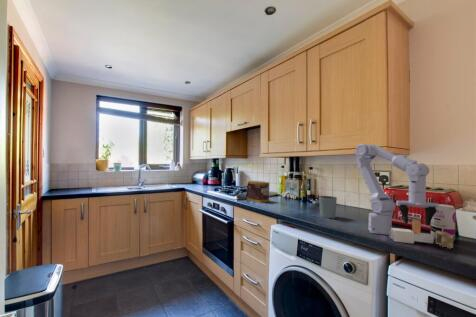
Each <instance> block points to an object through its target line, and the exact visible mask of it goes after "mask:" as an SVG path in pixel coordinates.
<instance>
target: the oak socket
mask: <svg viewBox="0 0 476 317" xmlns="http://www.w3.org/2000/svg"><path fill="white" fill-rule="evenodd" d="M435 244H437V245H438V244H439V246H440V247H441V246H442V247H441V248H443V247H447V248H446V249H451V248H453V249H454V240H453V236H452V235H450V234H448V233H447V232H442V231H436V239H435Z"/></svg>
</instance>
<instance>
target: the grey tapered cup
mask: <svg viewBox="0 0 476 317" xmlns="http://www.w3.org/2000/svg"><path fill="white" fill-rule="evenodd" d="M337 200H338V197H337V196H332V195H331V196H330V195H319V196H318V202H319V203H318V204H319V216H320V218H324V219H330V218H332V219H336V211H337Z"/></svg>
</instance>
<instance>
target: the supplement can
mask: <svg viewBox="0 0 476 317" xmlns="http://www.w3.org/2000/svg"><path fill="white" fill-rule="evenodd" d="M438 204H439V209H437V212H436V213H435V214H434V216H433V217H432V219H431V222H430V234H431V235H433V236H434V240H436V231H442V232H447V233H448V234H450V235H452V236H453V241H455V240H456V208H455V207H454V206H453V205H450V204H443V203H442V204H441V203H438ZM435 209H436V208H435Z"/></svg>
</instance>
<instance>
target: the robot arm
mask: <svg viewBox="0 0 476 317" xmlns="http://www.w3.org/2000/svg"><path fill="white" fill-rule="evenodd" d="M354 154H355V156H356V165H357V167H358V169H359V171H360V173H361V176H362V177H363V180H364V182H365V184H366V186H367V189H368V190H369V193H370V195H371V197H370V198H369V201H370V208H371V210H372V212H369V213H368V228H367V229H368V231H369V232H370V233H371V234H379V235H387V236H389V230H391V228H393V227H392V225H393V223H392V222H393V212H395V210H396V206H397V207H398V209H399V211H400V212H401V215H402V218H403V223H404V224H409V210H410V208H409V207H413V208H424V212H425V213H424V214H425V218H424V219H425V221H424V223H425V225H426V226H428V227H429V226H430V227H431V219H432V217H433V216H434V214H435V213H436V212H437V209H439V204H440V203H438V202H436V203H435V202H427V200H426V199H427V197H426V195H427V194H426V193H427V176H428V175H429V172H430V168H429V166H428V165H426V163H424V162H423V163H421V162H419V163H418V161H417V160H415V159H411V158H408V157H407V155H405V154H398V155H395V154H394V153H392V152H390V151H389V150H387V149H384V148H383V147H381V146H379V145H376V144H365V143H360V144H358V145H357V146H356V148H355V151H354ZM376 156H378V157H381V158H383V159H385V160H387V161H389V162H391V164H392V166H394V167H395V168H397V169H399V170H401V171H403V172H404V173H406V175H407V176H408V200H396V203H395V201H393V200H392V199H391V198H390V196H389V195H388V194H387V193H385V192H384V190H383V188H382V186H381V184H380V182H379V180H378V178H377V176H376V174H375V171H374V169H373V167H372V165H371V163H372V162H373V160H374V159H375V158H376ZM435 208H436V209H435Z"/></svg>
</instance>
